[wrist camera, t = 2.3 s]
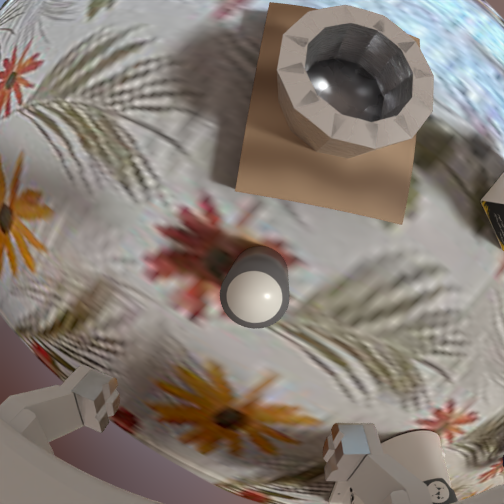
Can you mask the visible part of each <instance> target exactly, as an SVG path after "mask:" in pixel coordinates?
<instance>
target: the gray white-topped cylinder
mask: <svg viewBox="0 0 504 504" xmlns="http://www.w3.org/2000/svg"><path fill="white" fill-rule="evenodd" d="M220 300H221V304H222V307H223V309H224V311H225V313H226V314H227V315H228V316H229V318H231V319H232V320H233V321H234V322H236V323H237V324H239V325H241V326H244V327H248V328H264V327H267V326H270V325H272V324H274V323H276V322H277V321H278V320H279V319H281V317H282V316H283V315H284V313H285V312H286V310H287V308H288V304H289V282H288V269H287V265H286V262H285V260H284V259H283V257H282V256H281V255H280V254H279V253H278V252H277V251H275V250H273V249H271V248H269V247H265V246H255V247H251V248H249V249H246V250H245V251H243V252H242V253H241V254H240V255H239V256H238V258H237V259H236V261H235V262H234V264H233V266H232V268H231V269H230V271H229V273H228V274H227V276H226V278H225V279H224V281H223V283H222V286H221V290H220Z"/></svg>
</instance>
